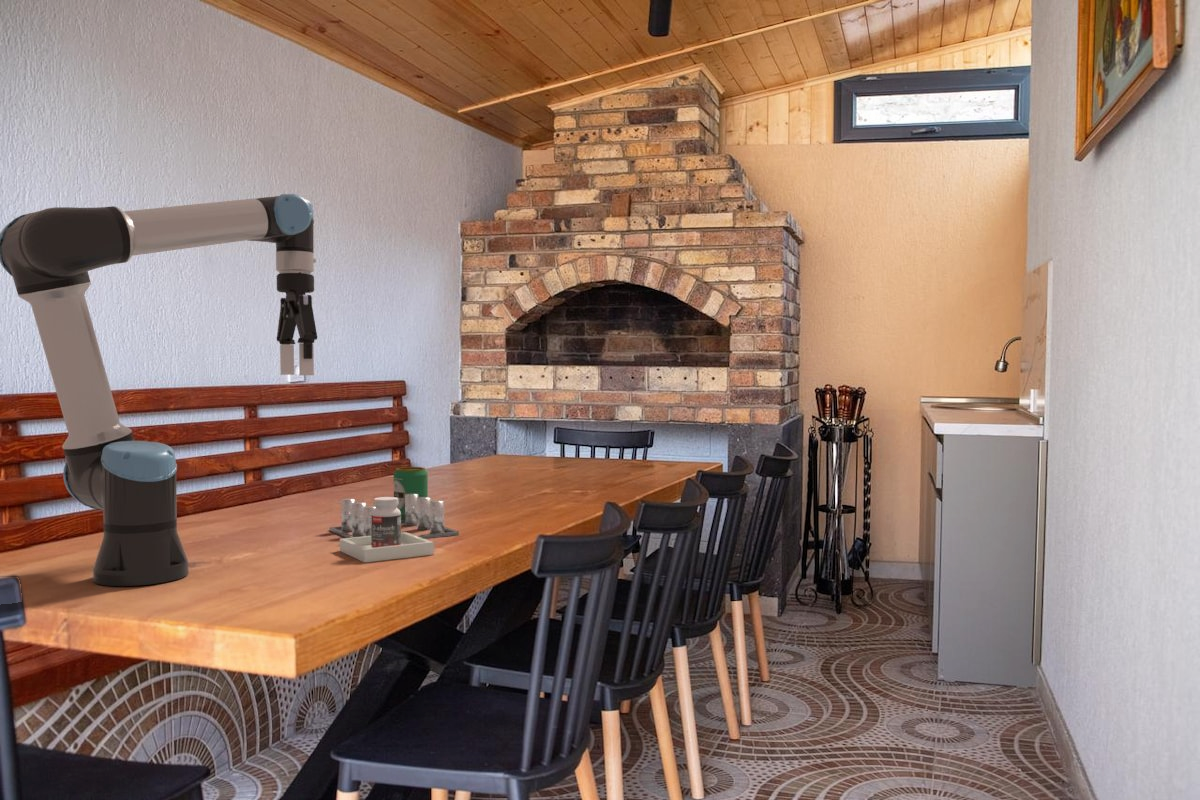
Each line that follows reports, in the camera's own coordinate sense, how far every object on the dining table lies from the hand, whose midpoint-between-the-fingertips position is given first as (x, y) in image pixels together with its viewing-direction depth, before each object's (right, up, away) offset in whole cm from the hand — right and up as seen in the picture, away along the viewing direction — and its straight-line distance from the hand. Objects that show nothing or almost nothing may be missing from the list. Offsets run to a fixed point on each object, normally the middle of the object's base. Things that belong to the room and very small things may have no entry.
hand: (296, 375), depth 212 cm
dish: (+22, -35, -13) cm, 43 cm away
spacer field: (+18, -34, +11) cm, 40 cm away
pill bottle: (+22, -35, -13) cm, 43 cm away
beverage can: (+18, -34, +30) cm, 49 cm away
